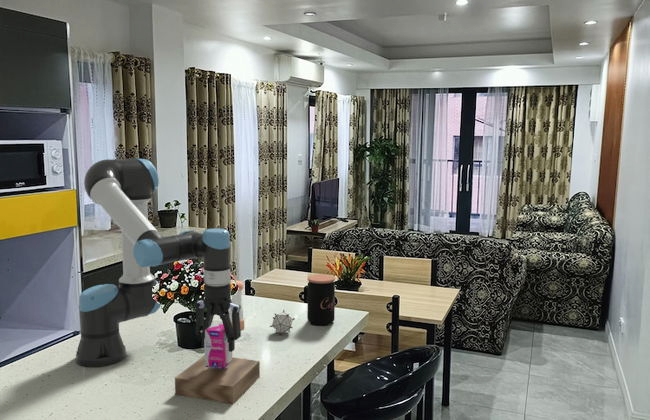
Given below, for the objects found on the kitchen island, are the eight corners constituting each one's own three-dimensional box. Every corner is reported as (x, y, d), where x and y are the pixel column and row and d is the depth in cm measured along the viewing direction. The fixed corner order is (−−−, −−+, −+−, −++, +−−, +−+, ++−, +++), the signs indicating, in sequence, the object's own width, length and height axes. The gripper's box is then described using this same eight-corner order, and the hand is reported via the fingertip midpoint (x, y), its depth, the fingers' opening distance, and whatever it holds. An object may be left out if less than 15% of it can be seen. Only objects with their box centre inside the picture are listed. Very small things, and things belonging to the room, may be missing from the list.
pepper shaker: (248, 328, 209) (247, 279, 206) (231, 332, 204) (230, 282, 201) (238, 323, 214) (237, 275, 212) (221, 327, 210) (220, 278, 207)
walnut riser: (175, 394, 156) (174, 377, 155) (206, 368, 173) (206, 353, 172) (233, 404, 150) (232, 386, 150) (259, 376, 168) (259, 361, 167)
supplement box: (205, 367, 158) (204, 329, 157) (213, 359, 164) (212, 322, 163) (224, 369, 157) (223, 331, 156) (231, 361, 163) (231, 324, 161)
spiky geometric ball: (278, 343, 204) (262, 325, 200) (282, 328, 211) (267, 310, 208) (298, 335, 201) (282, 316, 197) (301, 320, 208) (286, 301, 205)
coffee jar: (322, 328, 209) (322, 282, 207) (301, 322, 216) (301, 277, 214) (339, 321, 218) (340, 277, 215) (319, 315, 224) (319, 272, 222)
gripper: (180, 283, 157) (182, 360, 160) (241, 289, 151) (242, 369, 154) (194, 276, 164) (196, 351, 167) (253, 282, 158) (253, 359, 161)
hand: (218, 359), depth 161 cm, fingers closed on supplement box, 6 cm apart
